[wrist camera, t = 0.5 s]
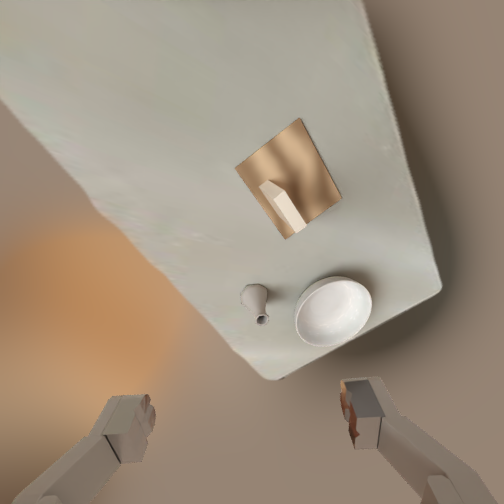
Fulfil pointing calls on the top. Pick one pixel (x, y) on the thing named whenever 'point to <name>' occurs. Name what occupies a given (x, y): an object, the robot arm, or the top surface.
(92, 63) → the top surface
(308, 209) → the wooden board
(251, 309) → the flask
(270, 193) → the tile
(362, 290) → the serving bowl
